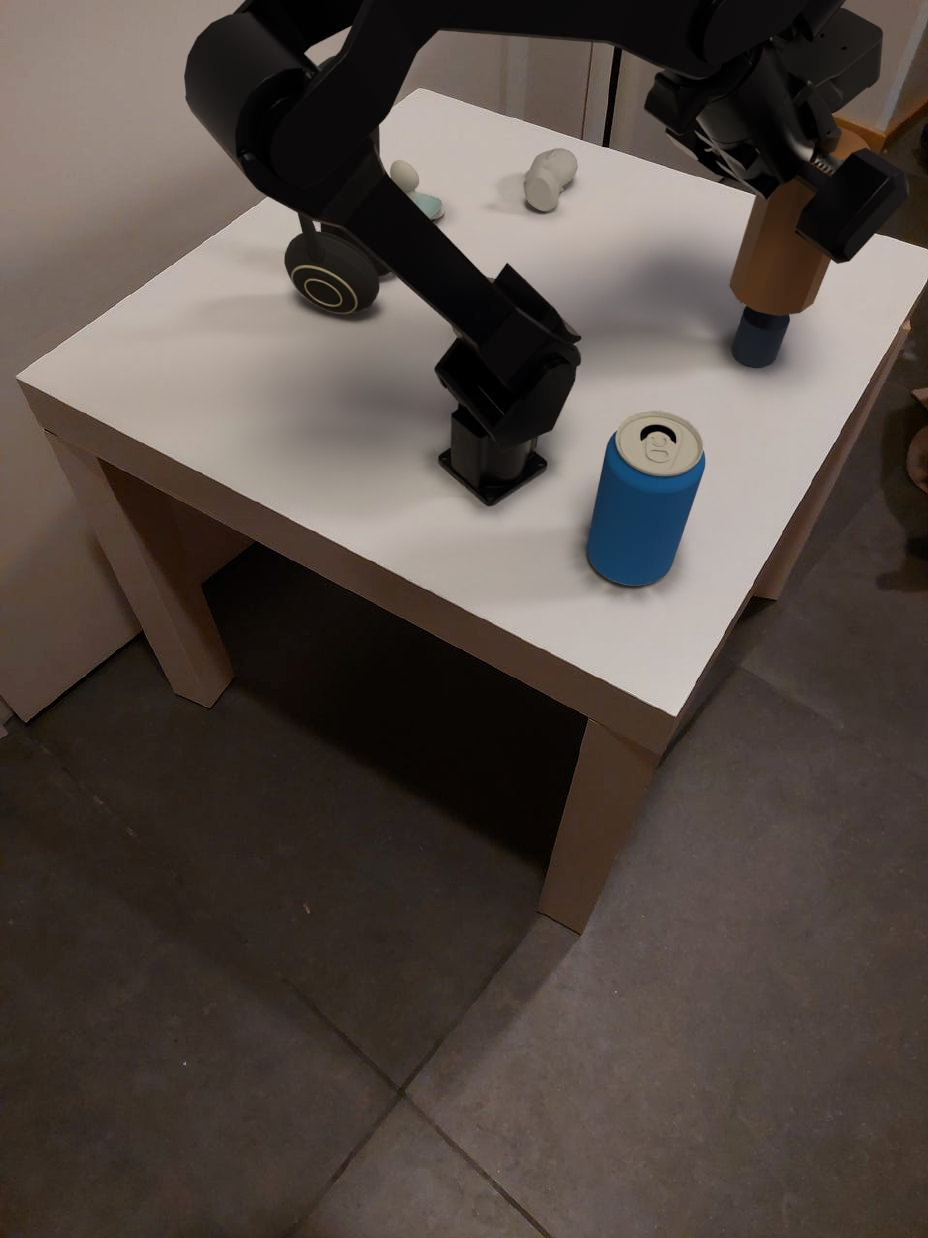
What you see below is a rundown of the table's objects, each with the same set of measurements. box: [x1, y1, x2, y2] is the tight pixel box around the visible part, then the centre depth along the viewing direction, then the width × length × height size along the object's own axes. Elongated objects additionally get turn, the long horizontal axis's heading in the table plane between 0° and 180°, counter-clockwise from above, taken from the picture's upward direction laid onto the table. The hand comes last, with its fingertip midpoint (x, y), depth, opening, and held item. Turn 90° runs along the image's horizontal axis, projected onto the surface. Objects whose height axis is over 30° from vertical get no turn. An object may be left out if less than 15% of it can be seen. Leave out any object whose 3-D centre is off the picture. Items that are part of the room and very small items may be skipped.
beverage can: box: [586, 410, 706, 587], centre depth 63 cm, size 6×6×12 cm
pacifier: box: [389, 159, 445, 221], centre depth 89 cm, size 7×6×6 cm
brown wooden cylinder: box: [728, 125, 871, 316], centre depth 70 cm, size 7×7×13 cm
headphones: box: [283, 54, 392, 315], centre depth 76 cm, size 9×15×20 cm, turn 160°
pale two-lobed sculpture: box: [524, 147, 579, 212], centre depth 93 cm, size 4×8×5 cm
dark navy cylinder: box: [730, 305, 791, 368], centre depth 79 cm, size 4×4×4 cm
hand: (811, 210), depth 71 cm, fingers closed on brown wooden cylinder, 7 cm apart
